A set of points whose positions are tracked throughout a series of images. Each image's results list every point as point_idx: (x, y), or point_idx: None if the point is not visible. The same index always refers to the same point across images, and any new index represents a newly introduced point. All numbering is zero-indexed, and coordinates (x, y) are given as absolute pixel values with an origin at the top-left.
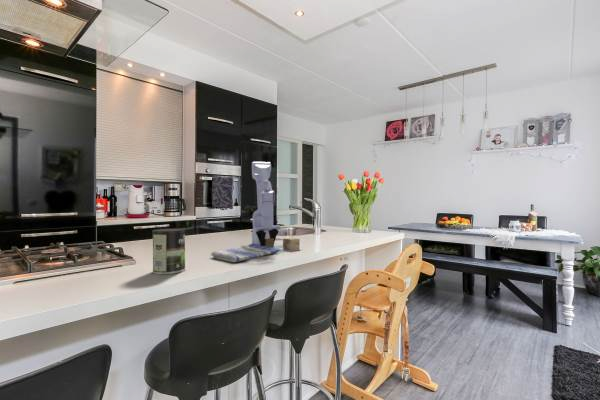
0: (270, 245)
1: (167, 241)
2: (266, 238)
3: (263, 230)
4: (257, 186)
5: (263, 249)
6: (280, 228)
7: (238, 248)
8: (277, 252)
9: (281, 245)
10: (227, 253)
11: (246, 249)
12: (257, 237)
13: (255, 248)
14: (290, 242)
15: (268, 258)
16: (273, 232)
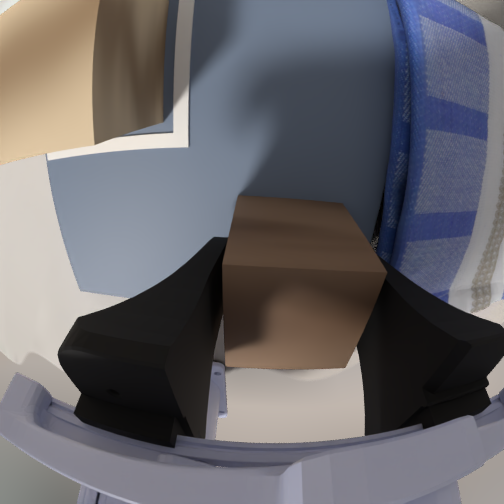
0: (288, 216)
1: None
2: (331, 314)
3: (408, 430)
4: None
5: (481, 113)
6: (11, 384)
7: (501, 290)
8: (361, 10)
9: (87, 283)
10: None
11: (494, 251)
12: (213, 432)
13: (483, 206)
14: None
15: (483, 9)
16: (187, 369)
